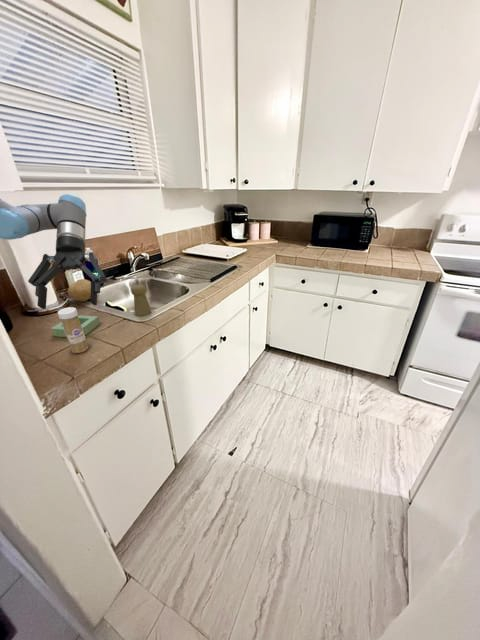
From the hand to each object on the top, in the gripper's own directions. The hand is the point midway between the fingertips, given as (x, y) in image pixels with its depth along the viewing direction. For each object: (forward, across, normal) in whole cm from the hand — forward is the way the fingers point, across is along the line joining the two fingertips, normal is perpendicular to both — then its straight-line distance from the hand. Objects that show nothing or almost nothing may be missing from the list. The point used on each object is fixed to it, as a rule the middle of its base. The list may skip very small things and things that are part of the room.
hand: (68, 305), depth 75 cm
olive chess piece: (-5, -16, -25) cm, 30 cm away
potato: (-18, +11, -38) cm, 43 cm away
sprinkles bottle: (+11, 0, -8) cm, 14 cm away
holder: (+2, +4, -18) cm, 19 cm away
